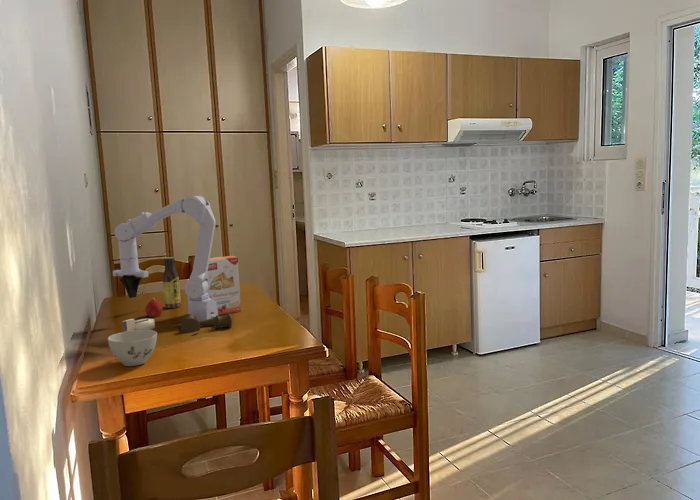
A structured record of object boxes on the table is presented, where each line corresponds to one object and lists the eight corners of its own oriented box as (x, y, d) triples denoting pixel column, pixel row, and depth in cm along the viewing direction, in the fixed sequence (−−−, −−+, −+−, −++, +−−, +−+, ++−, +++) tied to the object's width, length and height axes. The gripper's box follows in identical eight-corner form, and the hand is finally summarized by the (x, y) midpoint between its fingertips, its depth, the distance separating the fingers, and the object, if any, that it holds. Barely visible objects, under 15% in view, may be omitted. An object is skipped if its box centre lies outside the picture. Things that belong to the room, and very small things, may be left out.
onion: (142, 320, 198) (140, 299, 197) (155, 316, 204) (153, 295, 203) (154, 322, 196) (152, 300, 195) (166, 318, 201) (164, 296, 200)
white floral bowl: (162, 365, 148) (159, 336, 147) (112, 374, 142) (108, 344, 141) (154, 350, 161) (152, 324, 160) (108, 358, 155) (105, 331, 154)
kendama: (234, 332, 180) (170, 339, 173) (230, 326, 189) (168, 332, 182) (233, 314, 179) (169, 320, 172) (229, 308, 188) (167, 314, 181)
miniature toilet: (147, 324, 187) (146, 313, 186) (159, 327, 182) (157, 315, 182) (118, 332, 179) (117, 320, 178) (129, 335, 174) (128, 322, 174)
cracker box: (206, 318, 198) (201, 260, 195) (200, 315, 202) (195, 259, 200) (242, 311, 206) (238, 256, 203) (235, 308, 211) (231, 254, 208)
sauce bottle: (178, 308, 216) (173, 258, 213) (162, 309, 216) (157, 259, 213) (183, 304, 222) (179, 256, 220) (168, 305, 222) (163, 256, 220)
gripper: (153, 256, 188) (157, 295, 189) (122, 256, 194) (126, 293, 196) (137, 259, 181) (141, 300, 183) (106, 259, 188) (110, 298, 189)
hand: (132, 297), depth 189 cm, fingers closed
